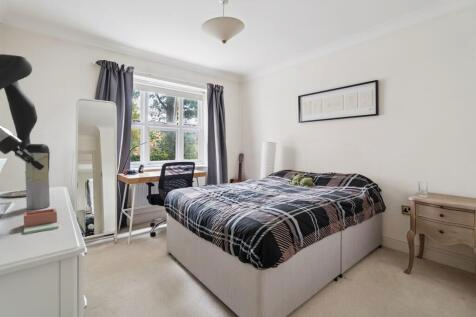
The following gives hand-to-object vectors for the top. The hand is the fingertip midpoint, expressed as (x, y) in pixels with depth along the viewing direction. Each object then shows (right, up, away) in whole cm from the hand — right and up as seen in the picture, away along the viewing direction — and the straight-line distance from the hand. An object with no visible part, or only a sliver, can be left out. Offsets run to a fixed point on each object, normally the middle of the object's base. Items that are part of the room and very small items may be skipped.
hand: (41, 168), depth 100 cm
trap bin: (+3, -23, -4) cm, 23 cm away
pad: (+8, -23, -10) cm, 27 cm away
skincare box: (-1, -6, -1) cm, 6 cm away
